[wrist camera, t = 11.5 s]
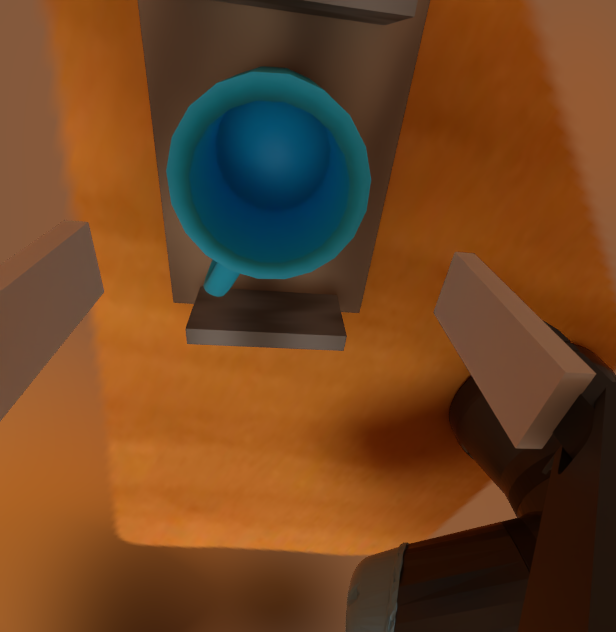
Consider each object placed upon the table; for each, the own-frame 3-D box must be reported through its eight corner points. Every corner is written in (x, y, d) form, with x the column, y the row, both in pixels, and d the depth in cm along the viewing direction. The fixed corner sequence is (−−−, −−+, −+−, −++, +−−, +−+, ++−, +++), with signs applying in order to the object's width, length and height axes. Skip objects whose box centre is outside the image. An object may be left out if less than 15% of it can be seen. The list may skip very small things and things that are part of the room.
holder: (426, -6, 19) (476, -27, 14) (357, 307, 29) (372, 355, 25) (136, -51, 17) (81, -92, 12) (176, 296, 28) (154, 346, 23)
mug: (238, 29, 18) (213, 14, 12) (370, 120, 21) (412, 150, 14) (162, 230, 24) (116, 297, 17) (274, 282, 27) (272, 357, 20)
